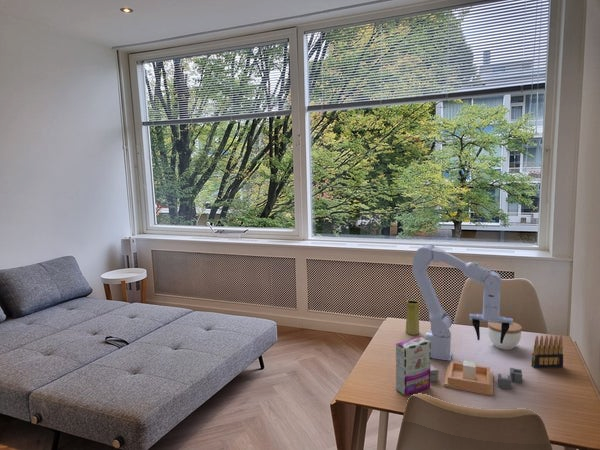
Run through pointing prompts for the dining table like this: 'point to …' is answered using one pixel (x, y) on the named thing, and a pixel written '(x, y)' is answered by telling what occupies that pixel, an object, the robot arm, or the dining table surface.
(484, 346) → the dining table surface
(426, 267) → the robot arm
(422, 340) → the candy bar box
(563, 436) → the dining table surface
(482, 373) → the wooden tray
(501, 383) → the clip
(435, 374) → the usb wall charger
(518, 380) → the clip
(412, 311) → the vase
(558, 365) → the ammunition clip
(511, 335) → the lidded bowl
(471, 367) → the plain white rectangular block
